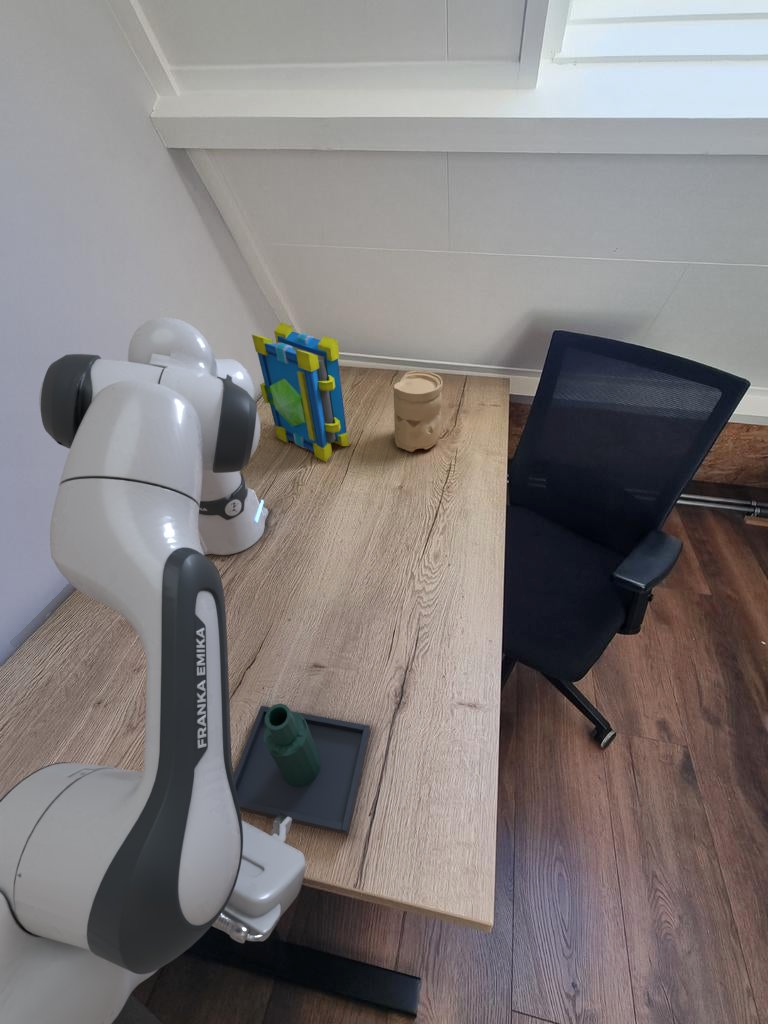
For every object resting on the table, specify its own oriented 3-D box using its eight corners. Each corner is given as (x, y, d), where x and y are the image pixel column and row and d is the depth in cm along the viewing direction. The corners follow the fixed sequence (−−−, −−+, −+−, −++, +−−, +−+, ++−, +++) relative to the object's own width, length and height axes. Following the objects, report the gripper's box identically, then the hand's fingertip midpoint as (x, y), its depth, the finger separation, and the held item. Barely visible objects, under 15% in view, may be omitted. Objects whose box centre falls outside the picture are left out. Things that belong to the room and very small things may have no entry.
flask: (275, 766, 66) (245, 717, 55) (305, 738, 69) (283, 685, 57) (297, 796, 63) (271, 750, 52) (328, 765, 66) (309, 715, 54)
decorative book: (303, 419, 139) (284, 319, 118) (359, 444, 127) (349, 338, 107) (267, 440, 131) (240, 337, 110) (323, 469, 119) (304, 360, 99)
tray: (226, 807, 63) (222, 803, 62) (263, 711, 73) (260, 705, 71) (348, 835, 60) (346, 831, 59) (370, 731, 70) (369, 725, 68)
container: (390, 451, 124) (388, 391, 112) (400, 427, 133) (398, 369, 120) (436, 456, 121) (438, 395, 109) (443, 431, 130) (445, 372, 118)
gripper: (267, 914, 36) (336, 816, 49) (84, 805, 43) (189, 744, 56) (249, 990, 36) (323, 872, 50) (69, 870, 43) (177, 793, 56)
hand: (251, 803), depth 53 cm, fingers open, 8 cm apart
